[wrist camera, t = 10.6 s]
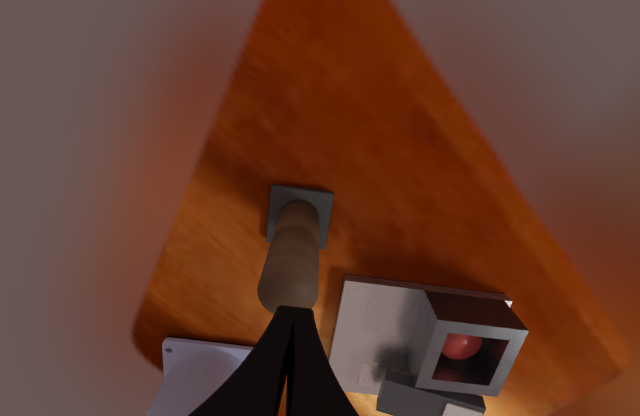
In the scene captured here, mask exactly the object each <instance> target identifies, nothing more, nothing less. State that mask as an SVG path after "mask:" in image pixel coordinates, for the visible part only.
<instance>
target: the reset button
mask: <svg viewBox="0 0 640 416" xmlns="http://www.w3.org/2000/svg"><path fill="white" fill-rule="evenodd" d="M481 343H482V340H481V337H478V336H469V335H461V334H453V333H448V334H447V337H446V340H445V342H444V345H443V348H442V353H443V354H444V355H445V356H447V357H448V358H451V359H456V360H460V359H466V358H469V357H471V356H473V355H474V354H475V353H476V352H477V351H478V350H479V349H480V347H481Z"/></svg>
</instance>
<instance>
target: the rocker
mask: <svg viewBox="0 0 640 416" xmlns="http://www.w3.org/2000/svg"><path fill="white" fill-rule="evenodd" d="M376 410H377V411H380V412H383V413H386V414H390V415H393V416H483V414H484V412H485V410H486V407H485V404H484V400H483V396H479V395H476V394H468V393H459V392H451V391H442V390H433V389H424V388H415V386H414V383H413V379H412V376H408V375H405V374H401V373H398V372H394V371H391V370H387V369H385V373H384V376H383V380H382V383H381V387H380V390H379V394H378V397H377V407H376Z"/></svg>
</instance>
